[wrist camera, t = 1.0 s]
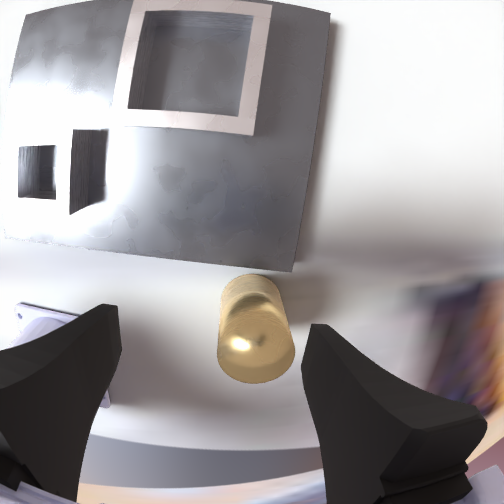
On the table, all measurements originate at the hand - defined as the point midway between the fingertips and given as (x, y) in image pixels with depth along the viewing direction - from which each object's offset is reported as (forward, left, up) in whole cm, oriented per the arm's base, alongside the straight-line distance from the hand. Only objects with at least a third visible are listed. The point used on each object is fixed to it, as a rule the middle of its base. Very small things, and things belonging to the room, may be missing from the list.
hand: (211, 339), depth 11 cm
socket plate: (+8, +6, -10) cm, 14 cm away
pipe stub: (-3, -2, -10) cm, 10 cm away
